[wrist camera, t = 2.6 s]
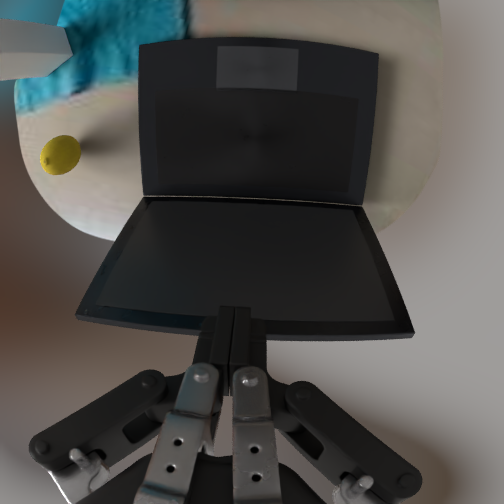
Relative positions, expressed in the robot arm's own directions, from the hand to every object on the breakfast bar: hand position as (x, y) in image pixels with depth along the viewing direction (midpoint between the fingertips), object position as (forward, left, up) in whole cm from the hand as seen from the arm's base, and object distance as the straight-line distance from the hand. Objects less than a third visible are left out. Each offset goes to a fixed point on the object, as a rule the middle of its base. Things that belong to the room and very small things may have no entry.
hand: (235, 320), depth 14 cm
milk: (-1, -37, -29) cm, 47 cm away
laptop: (-6, -4, -28) cm, 29 cm away
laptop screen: (+4, +3, -16) cm, 17 cm away
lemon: (+11, -25, -29) cm, 39 cm away
